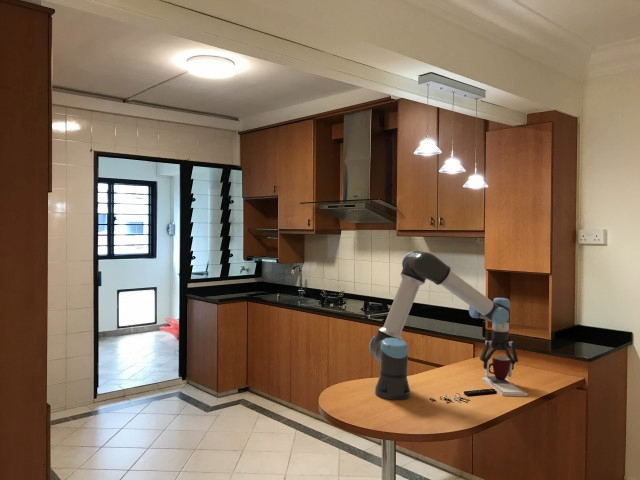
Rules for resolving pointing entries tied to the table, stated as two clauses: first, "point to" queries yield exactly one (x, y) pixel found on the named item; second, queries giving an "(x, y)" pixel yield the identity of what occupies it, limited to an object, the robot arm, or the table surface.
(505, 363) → the mug
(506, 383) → the board
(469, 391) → the table surface
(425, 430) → the table surface
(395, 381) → the robot arm
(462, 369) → the table surface
